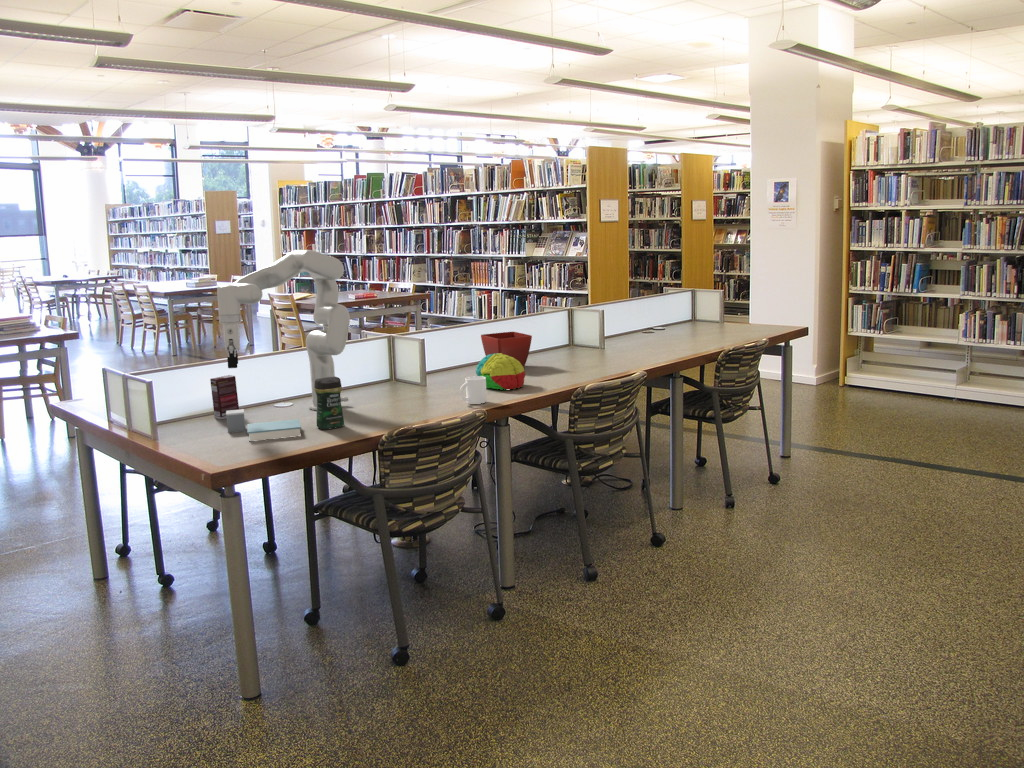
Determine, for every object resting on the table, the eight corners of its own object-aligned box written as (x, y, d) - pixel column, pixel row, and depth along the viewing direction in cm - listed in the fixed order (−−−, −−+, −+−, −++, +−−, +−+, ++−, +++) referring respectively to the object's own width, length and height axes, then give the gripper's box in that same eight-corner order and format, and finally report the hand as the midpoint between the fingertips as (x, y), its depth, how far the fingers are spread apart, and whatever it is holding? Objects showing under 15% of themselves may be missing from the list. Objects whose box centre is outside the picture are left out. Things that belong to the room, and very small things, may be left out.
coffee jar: (322, 431, 302) (318, 380, 298) (314, 427, 308) (310, 377, 305) (347, 427, 307) (344, 377, 303) (338, 423, 313) (335, 374, 310)
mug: (465, 407, 332) (464, 382, 330) (454, 404, 339) (453, 379, 337) (490, 403, 339) (489, 377, 337) (479, 399, 346) (478, 375, 344)
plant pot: (533, 369, 412) (532, 335, 408) (499, 373, 402) (498, 338, 399) (514, 363, 428) (513, 331, 425) (481, 368, 419) (479, 334, 415)
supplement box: (233, 413, 335) (229, 374, 332) (240, 415, 332) (236, 375, 328) (213, 418, 328) (209, 378, 325) (220, 419, 325) (216, 379, 322)
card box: (245, 427, 311) (243, 409, 310) (245, 431, 306) (243, 412, 304) (228, 429, 309) (226, 410, 308) (227, 433, 304) (225, 414, 303)
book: (299, 429, 308) (298, 418, 307) (302, 437, 295) (301, 426, 295) (248, 434, 302) (247, 423, 302) (248, 443, 290) (247, 432, 289)
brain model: (466, 385, 373) (466, 352, 370) (498, 379, 386) (498, 347, 383) (502, 395, 357) (502, 361, 353) (533, 388, 369) (534, 355, 366)
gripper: (240, 321, 296) (243, 369, 299) (241, 316, 312) (244, 362, 315) (217, 321, 294) (221, 370, 297) (220, 317, 310) (223, 363, 313)
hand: (233, 366), depth 306 cm, fingers open, 9 cm apart
